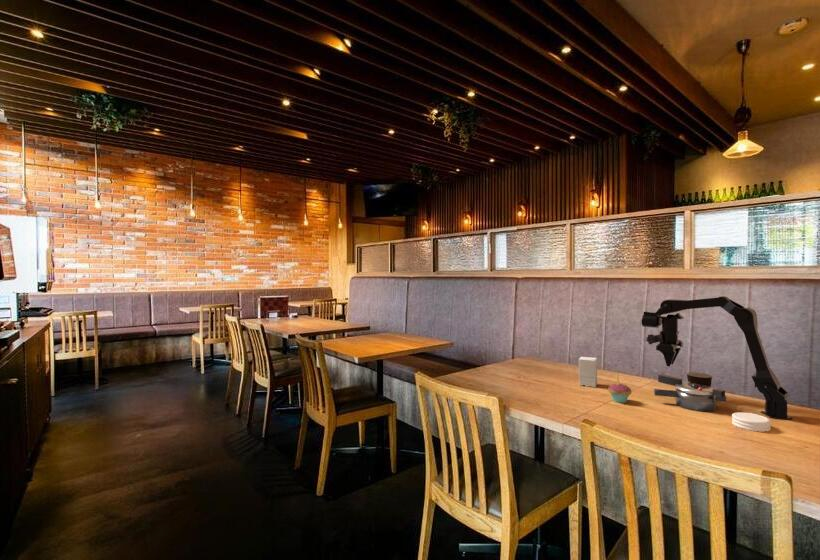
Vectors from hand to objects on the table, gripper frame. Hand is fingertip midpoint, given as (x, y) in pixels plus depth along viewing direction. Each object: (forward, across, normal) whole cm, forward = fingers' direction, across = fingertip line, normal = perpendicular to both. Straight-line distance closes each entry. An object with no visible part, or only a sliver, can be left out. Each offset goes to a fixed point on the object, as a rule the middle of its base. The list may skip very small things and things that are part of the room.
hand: (669, 365), depth 172 cm
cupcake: (+13, +22, -13) cm, 29 cm away
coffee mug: (+13, -5, +10) cm, 17 cm away
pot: (+13, +10, +9) cm, 19 cm away
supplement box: (+13, +6, -32) cm, 35 cm away
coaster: (+13, +22, +28) cm, 38 cm away
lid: (+7, +9, +9) cm, 14 cm away
